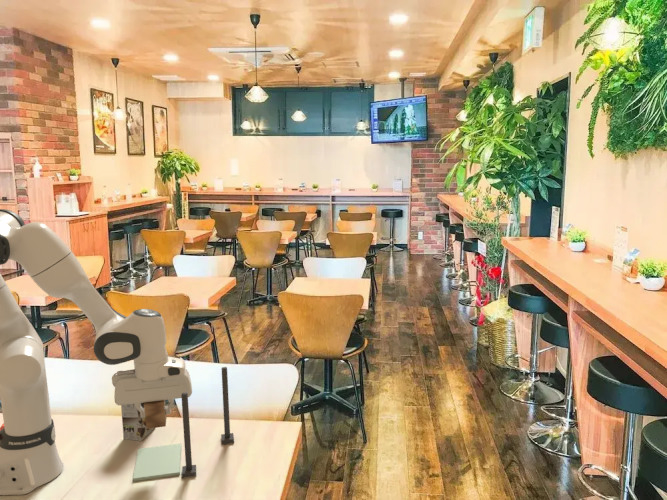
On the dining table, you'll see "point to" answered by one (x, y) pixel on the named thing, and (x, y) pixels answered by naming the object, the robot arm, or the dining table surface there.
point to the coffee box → (134, 423)
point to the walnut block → (155, 414)
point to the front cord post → (187, 440)
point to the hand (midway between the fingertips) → (156, 414)
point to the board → (157, 462)
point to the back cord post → (226, 410)
